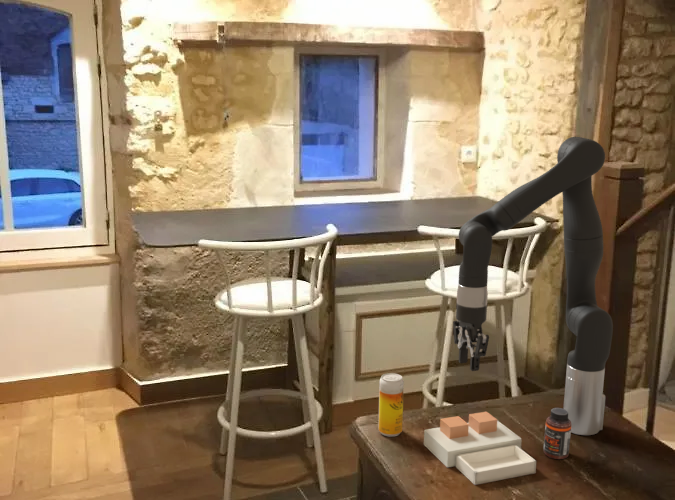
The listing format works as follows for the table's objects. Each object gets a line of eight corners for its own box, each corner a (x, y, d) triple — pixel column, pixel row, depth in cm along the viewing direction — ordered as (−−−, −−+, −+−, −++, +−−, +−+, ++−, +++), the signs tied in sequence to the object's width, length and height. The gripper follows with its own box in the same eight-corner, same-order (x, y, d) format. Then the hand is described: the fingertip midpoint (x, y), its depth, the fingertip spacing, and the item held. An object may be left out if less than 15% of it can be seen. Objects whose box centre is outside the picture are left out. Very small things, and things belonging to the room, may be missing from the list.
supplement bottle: (539, 455, 181) (542, 411, 178) (548, 446, 185) (552, 403, 183) (563, 462, 177) (567, 418, 175) (572, 453, 182) (576, 410, 180)
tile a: (485, 422, 189) (486, 411, 188) (496, 431, 184) (497, 419, 184) (468, 425, 187) (469, 414, 187) (478, 434, 183) (479, 422, 182)
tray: (514, 456, 180) (515, 444, 180) (535, 472, 172) (536, 461, 172) (455, 467, 175) (456, 455, 174) (474, 484, 167) (475, 472, 166)
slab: (493, 432, 192) (494, 418, 191) (520, 453, 181) (521, 438, 181) (423, 444, 185) (424, 429, 185) (447, 467, 174) (447, 451, 174)
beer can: (400, 438, 188) (402, 382, 185) (376, 436, 190) (378, 380, 186) (403, 428, 194) (405, 373, 191) (380, 425, 195) (381, 371, 192)
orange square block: (457, 427, 186) (458, 416, 186) (468, 435, 182) (468, 424, 181) (439, 430, 184) (440, 418, 184) (449, 439, 180) (450, 427, 179)
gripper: (500, 308, 181) (496, 374, 185) (470, 293, 194) (467, 355, 198) (473, 311, 179) (470, 378, 182) (444, 295, 192) (441, 358, 195)
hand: (468, 366), depth 190 cm, fingers open, 5 cm apart
